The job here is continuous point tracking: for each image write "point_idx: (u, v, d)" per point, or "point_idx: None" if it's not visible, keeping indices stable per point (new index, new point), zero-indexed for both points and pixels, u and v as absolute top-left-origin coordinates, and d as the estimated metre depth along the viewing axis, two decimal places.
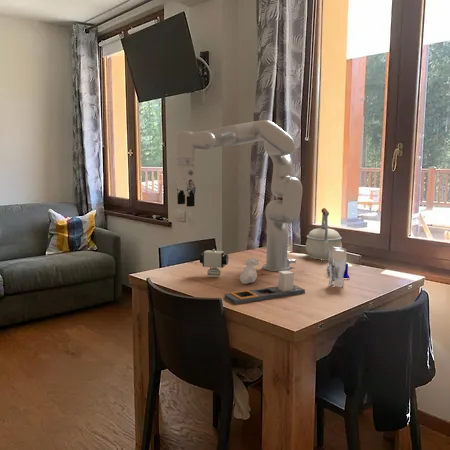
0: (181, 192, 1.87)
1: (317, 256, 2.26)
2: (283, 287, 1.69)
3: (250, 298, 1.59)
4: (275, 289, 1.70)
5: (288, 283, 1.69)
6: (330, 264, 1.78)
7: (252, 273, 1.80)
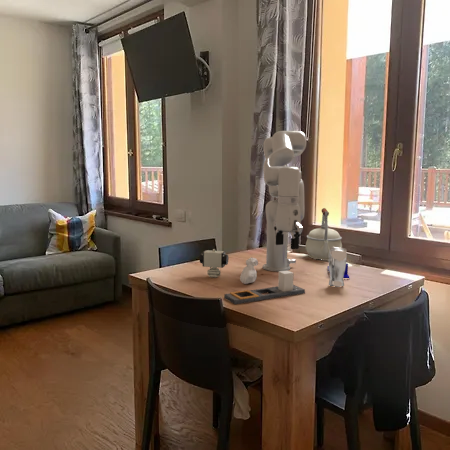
0: (279, 232, 1.72)
1: (317, 256, 2.26)
2: (283, 287, 1.69)
3: (250, 298, 1.59)
4: (275, 289, 1.70)
5: (288, 283, 1.69)
6: (330, 264, 1.78)
7: (252, 273, 1.80)
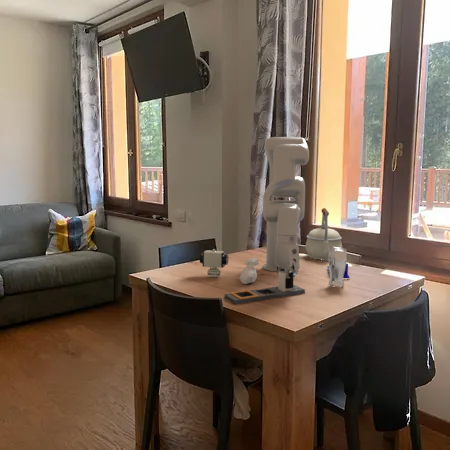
0: None
1: (317, 256, 2.26)
2: (283, 287, 1.69)
3: (250, 298, 1.59)
4: (275, 289, 1.70)
5: None
6: (330, 264, 1.78)
7: (252, 273, 1.80)
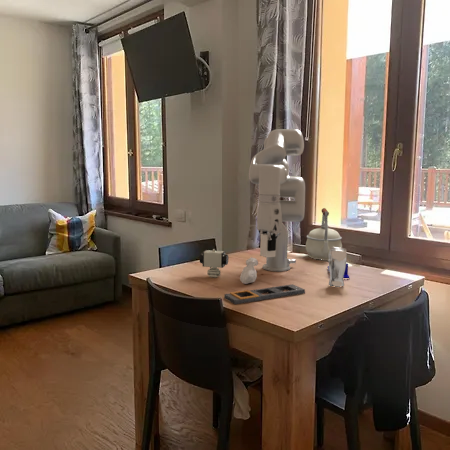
0: None
1: (317, 256, 2.26)
2: (265, 249, 1.62)
3: (250, 298, 1.59)
4: (275, 289, 1.70)
5: None
6: (330, 264, 1.78)
7: (252, 273, 1.80)
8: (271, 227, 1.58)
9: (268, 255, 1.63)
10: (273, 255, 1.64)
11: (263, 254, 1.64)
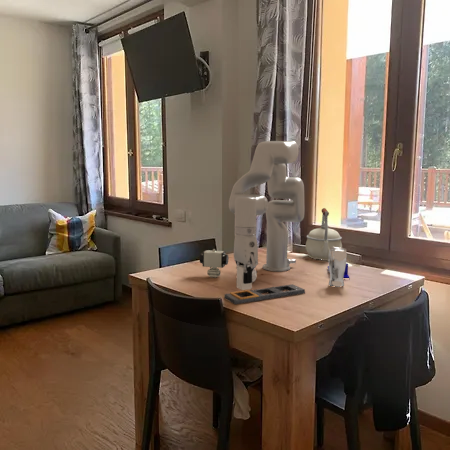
0: None
1: (317, 256, 2.26)
2: (241, 282, 1.60)
3: (250, 298, 1.59)
4: (275, 289, 1.70)
5: None
6: (330, 264, 1.78)
7: (252, 273, 1.80)
8: (246, 260, 1.56)
9: (244, 288, 1.60)
10: (249, 287, 1.61)
11: (239, 286, 1.61)
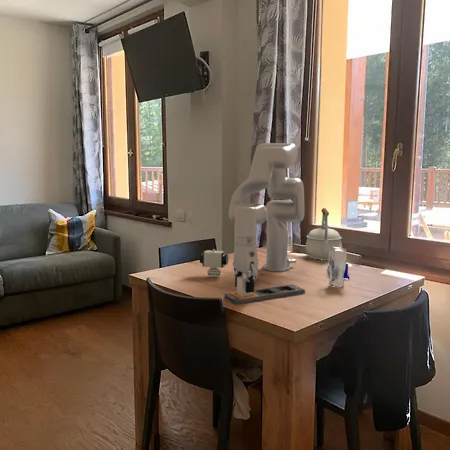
0: (239, 273, 1.65)
1: (317, 256, 2.26)
2: (241, 293, 1.60)
3: (250, 298, 1.59)
4: (275, 289, 1.70)
5: None
6: (330, 264, 1.78)
7: None
8: (246, 270, 1.56)
9: None
10: None
11: None
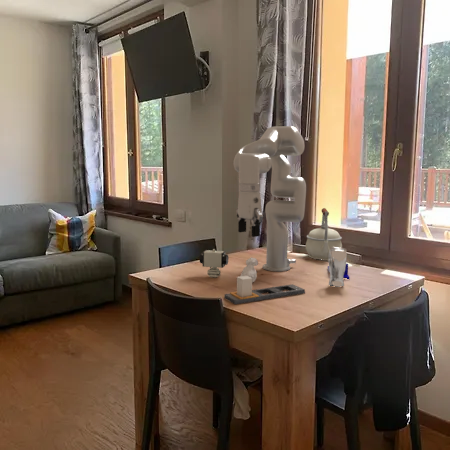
0: (242, 219, 1.72)
1: (317, 256, 2.26)
2: (241, 293, 1.60)
3: (250, 298, 1.59)
4: (275, 289, 1.70)
5: (247, 289, 1.61)
6: (330, 264, 1.78)
7: (252, 273, 1.80)
8: (251, 215, 1.62)
9: None
10: None
11: None
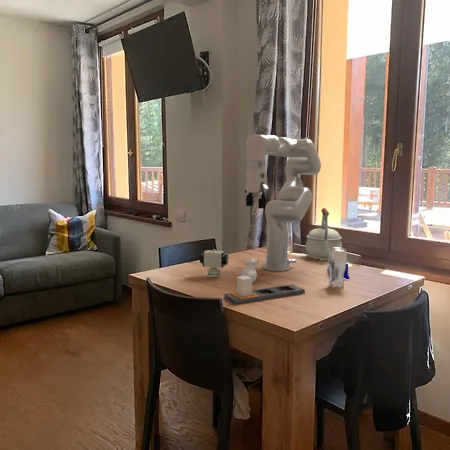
0: (249, 194, 1.90)
1: (317, 256, 2.26)
2: (241, 293, 1.60)
3: (250, 298, 1.59)
4: (275, 289, 1.70)
5: (247, 289, 1.61)
6: (330, 264, 1.78)
7: (252, 273, 1.80)
8: (257, 189, 1.81)
9: None
10: None
11: None
